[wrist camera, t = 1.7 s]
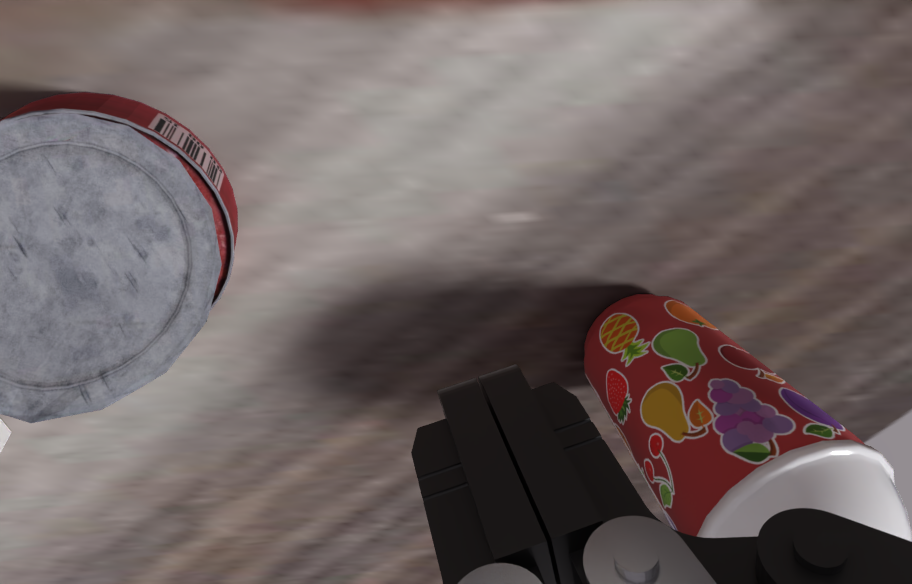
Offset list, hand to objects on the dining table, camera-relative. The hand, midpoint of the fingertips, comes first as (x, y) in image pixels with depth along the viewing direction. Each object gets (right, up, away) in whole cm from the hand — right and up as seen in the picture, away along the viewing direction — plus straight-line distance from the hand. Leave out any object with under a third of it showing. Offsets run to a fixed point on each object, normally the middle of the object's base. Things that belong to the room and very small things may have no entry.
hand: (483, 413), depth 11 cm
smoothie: (+9, 0, +24) cm, 26 cm away
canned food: (-15, +6, +15) cm, 22 cm away
